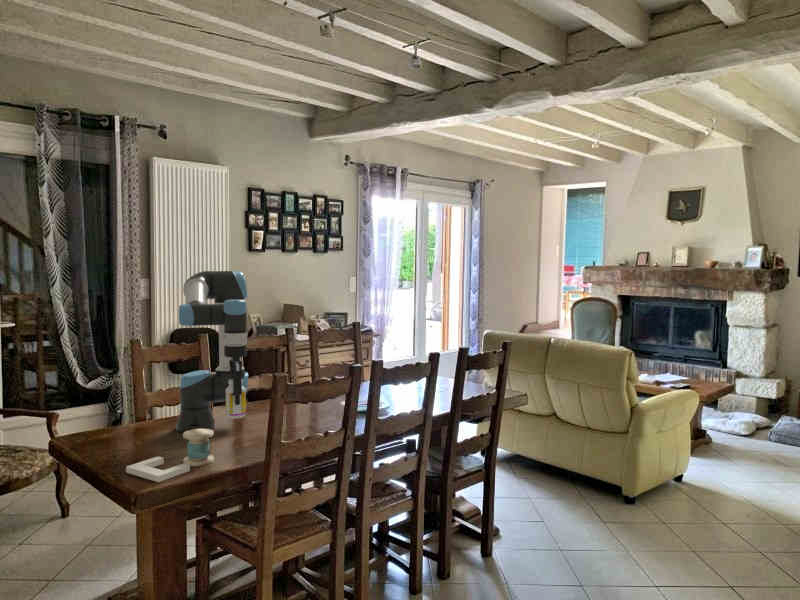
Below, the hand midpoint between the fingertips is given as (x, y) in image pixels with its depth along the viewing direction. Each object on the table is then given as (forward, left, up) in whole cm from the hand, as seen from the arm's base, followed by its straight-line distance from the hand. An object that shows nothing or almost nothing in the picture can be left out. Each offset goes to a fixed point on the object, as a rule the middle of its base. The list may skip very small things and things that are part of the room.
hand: (235, 411), depth 205 cm
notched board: (+21, -13, -17) cm, 31 cm away
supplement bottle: (0, 0, -2) cm, 2 cm away
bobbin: (+7, -10, -17) cm, 22 cm away
